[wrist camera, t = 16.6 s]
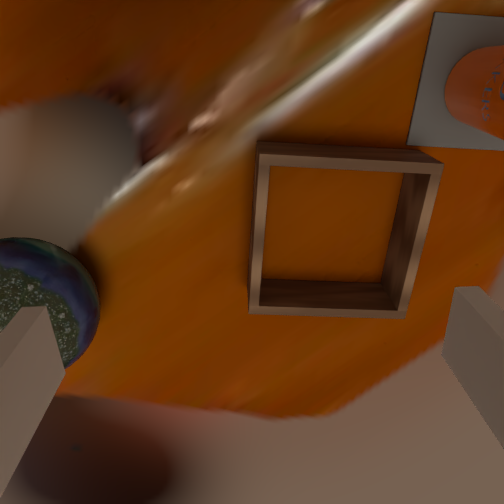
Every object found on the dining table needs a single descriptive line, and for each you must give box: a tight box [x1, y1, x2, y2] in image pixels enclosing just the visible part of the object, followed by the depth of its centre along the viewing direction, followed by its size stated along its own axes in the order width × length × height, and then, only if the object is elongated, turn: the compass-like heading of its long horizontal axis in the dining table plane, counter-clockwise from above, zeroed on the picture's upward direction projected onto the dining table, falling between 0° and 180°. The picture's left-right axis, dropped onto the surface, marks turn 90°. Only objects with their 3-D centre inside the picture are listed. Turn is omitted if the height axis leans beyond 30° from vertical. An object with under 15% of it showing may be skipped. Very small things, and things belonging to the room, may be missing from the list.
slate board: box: [406, 12, 504, 151], centre depth 42 cm, size 12×12×1 cm
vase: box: [0, 237, 100, 369], centre depth 44 cm, size 15×15×13 cm
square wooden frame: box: [247, 141, 444, 319], centre depth 45 cm, size 17×17×6 cm
